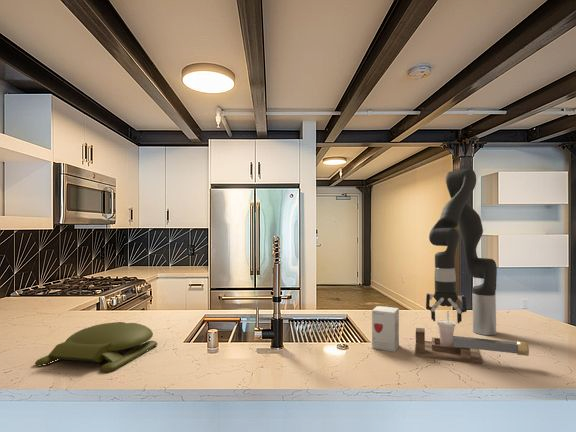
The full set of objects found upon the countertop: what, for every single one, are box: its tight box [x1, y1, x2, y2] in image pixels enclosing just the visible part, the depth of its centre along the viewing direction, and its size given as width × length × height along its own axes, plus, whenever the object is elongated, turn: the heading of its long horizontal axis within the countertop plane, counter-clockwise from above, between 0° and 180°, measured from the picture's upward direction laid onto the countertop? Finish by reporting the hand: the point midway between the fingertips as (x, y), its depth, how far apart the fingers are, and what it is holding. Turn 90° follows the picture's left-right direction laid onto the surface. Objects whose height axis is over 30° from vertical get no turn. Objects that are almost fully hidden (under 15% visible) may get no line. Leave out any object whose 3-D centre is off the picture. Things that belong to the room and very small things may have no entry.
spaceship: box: [34, 321, 158, 373], centre depth 136 cm, size 35×31×10 cm
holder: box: [414, 327, 483, 365], centre depth 135 cm, size 17×22×9 cm
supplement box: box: [371, 305, 400, 352], centre depth 142 cm, size 9×9×15 cm
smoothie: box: [437, 310, 456, 346], centre depth 137 cm, size 6×6×14 cm
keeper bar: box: [452, 335, 530, 357], centre depth 125 cm, size 4×23×4 cm, turn 68°
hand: (446, 321), depth 137 cm, fingers open, 8 cm apart
